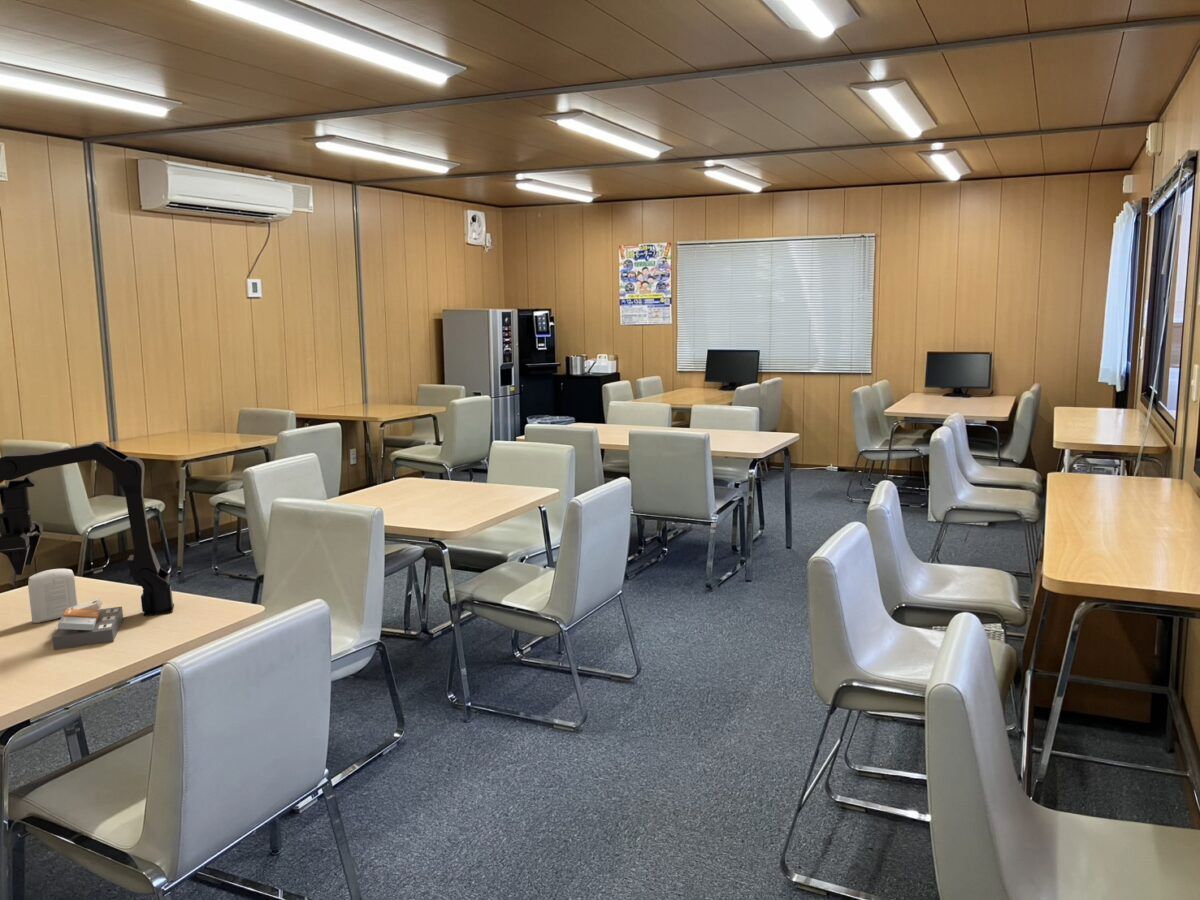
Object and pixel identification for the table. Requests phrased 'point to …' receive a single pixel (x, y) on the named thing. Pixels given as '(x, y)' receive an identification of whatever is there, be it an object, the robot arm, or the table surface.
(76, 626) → the grey-blue rocker
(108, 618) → the power strip
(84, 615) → the orange box with knob
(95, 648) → the table surface
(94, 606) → the ivory rocker
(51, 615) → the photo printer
